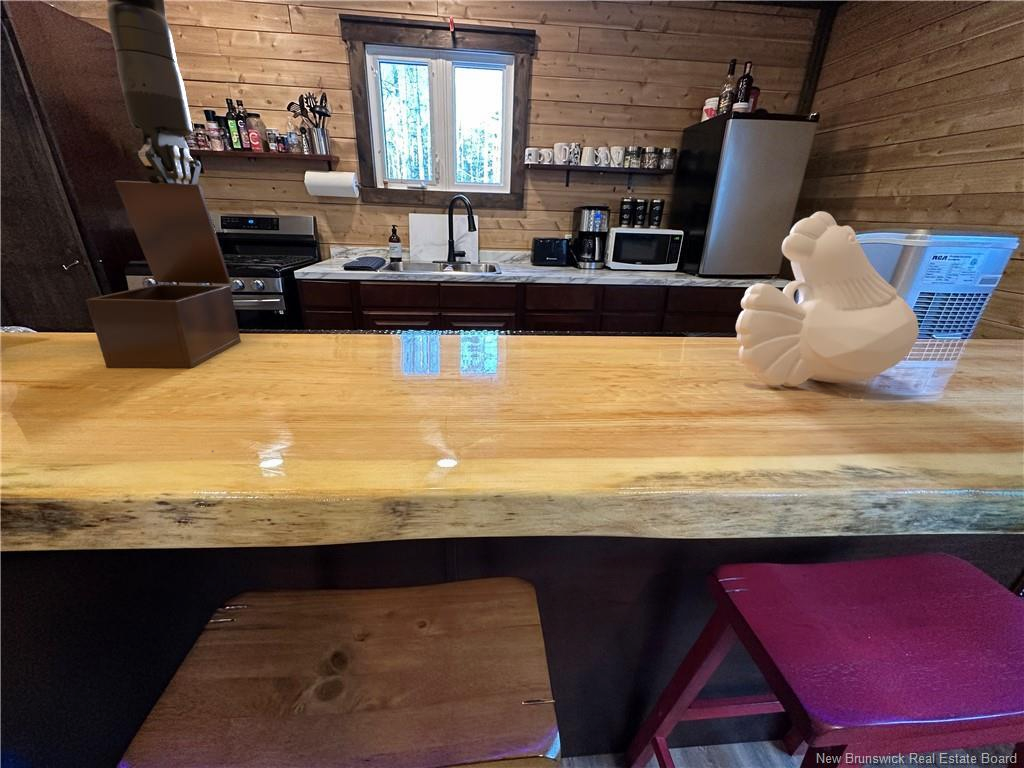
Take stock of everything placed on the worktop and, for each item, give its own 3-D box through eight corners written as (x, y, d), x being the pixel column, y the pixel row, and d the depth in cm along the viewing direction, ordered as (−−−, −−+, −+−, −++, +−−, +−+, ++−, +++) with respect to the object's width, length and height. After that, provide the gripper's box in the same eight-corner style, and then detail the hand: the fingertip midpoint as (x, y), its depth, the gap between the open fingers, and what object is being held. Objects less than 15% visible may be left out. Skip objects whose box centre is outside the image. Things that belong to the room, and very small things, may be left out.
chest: (191, 368, 64) (175, 301, 60) (106, 367, 63) (85, 299, 59) (241, 341, 77) (230, 285, 74) (171, 340, 76) (157, 284, 73)
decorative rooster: (872, 330, 75) (802, 206, 71) (965, 336, 59) (882, 178, 56) (745, 411, 78) (672, 296, 74) (803, 438, 62) (714, 293, 59)
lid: (197, 185, 65) (200, 184, 66) (114, 181, 64) (117, 180, 65) (228, 284, 73) (231, 282, 74) (155, 282, 72) (158, 280, 73)
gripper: (152, 84, 58) (182, 222, 65) (207, 107, 71) (228, 221, 77) (91, 80, 58) (128, 220, 64) (158, 104, 70) (183, 219, 76)
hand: (182, 220), depth 70 cm, fingers closed
